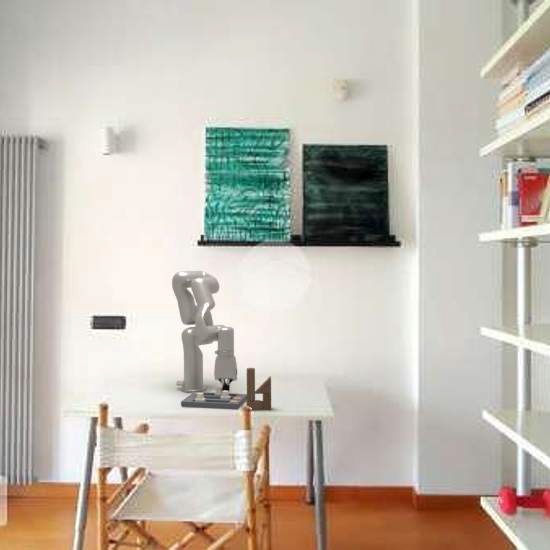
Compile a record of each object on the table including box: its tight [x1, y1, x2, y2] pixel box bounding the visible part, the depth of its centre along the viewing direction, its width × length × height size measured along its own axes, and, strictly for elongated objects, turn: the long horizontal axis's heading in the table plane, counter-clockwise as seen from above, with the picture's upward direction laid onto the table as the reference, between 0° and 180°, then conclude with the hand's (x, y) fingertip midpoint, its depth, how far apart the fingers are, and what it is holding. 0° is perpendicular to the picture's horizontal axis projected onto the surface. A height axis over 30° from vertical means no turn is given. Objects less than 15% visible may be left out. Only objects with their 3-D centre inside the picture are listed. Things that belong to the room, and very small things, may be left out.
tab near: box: [195, 393, 206, 402], centre depth 250 cm, size 4×3×4 cm
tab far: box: [214, 386, 223, 396], centre depth 261 cm, size 4×3×4 cm
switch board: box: [180, 391, 247, 410], centre depth 255 cm, size 26×18×3 cm
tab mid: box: [220, 390, 231, 399], centre depth 254 cm, size 4×3×4 cm
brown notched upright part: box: [245, 367, 272, 411], centre depth 244 cm, size 4×11×18 cm, turn 94°
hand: (226, 392), depth 261 cm, fingers closed
